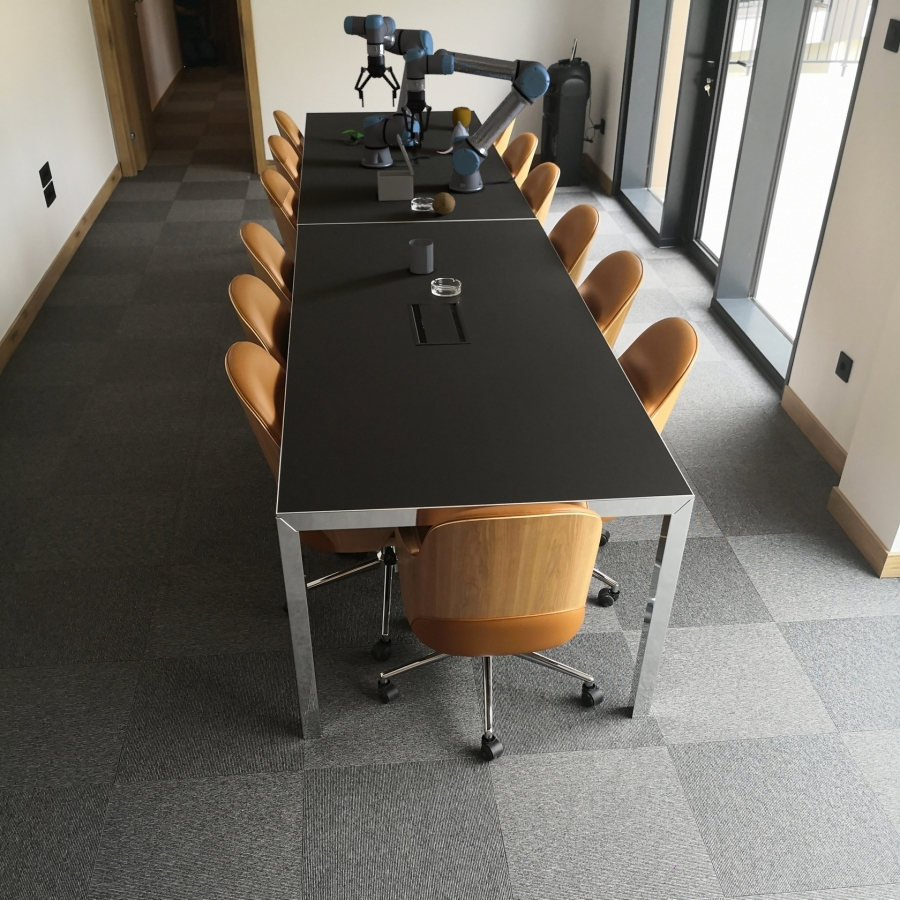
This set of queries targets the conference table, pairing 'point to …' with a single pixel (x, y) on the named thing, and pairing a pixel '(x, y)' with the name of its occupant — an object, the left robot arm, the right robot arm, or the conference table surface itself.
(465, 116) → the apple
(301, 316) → the conference table surface
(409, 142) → the lid
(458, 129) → the toy
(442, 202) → the potato
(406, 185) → the chest
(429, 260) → the cup
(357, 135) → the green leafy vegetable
